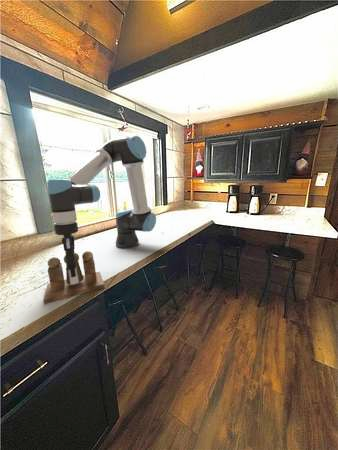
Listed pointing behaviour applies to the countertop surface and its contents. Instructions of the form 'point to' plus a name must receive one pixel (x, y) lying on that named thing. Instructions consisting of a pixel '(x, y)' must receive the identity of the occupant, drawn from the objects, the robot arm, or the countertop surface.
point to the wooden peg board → (63, 290)
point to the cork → (80, 276)
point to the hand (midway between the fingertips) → (74, 279)
